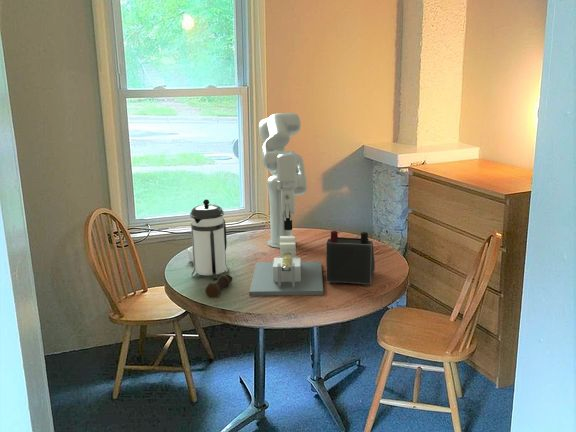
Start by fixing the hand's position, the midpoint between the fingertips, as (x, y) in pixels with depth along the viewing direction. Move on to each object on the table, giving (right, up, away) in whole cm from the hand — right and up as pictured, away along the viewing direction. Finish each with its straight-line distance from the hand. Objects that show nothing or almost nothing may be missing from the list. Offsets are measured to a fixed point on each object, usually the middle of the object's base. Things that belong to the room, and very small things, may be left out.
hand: (288, 229), depth 236 cm
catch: (0, -14, -6) cm, 15 cm away
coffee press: (-30, -17, -7) cm, 35 cm away
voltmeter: (+24, -18, -15) cm, 34 cm away
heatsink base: (0, -18, -15) cm, 24 cm away
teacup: (-38, -13, +9) cm, 41 cm away
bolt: (-24, -22, -24) cm, 40 cm away
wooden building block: (-1, -16, -22) cm, 27 cm away
